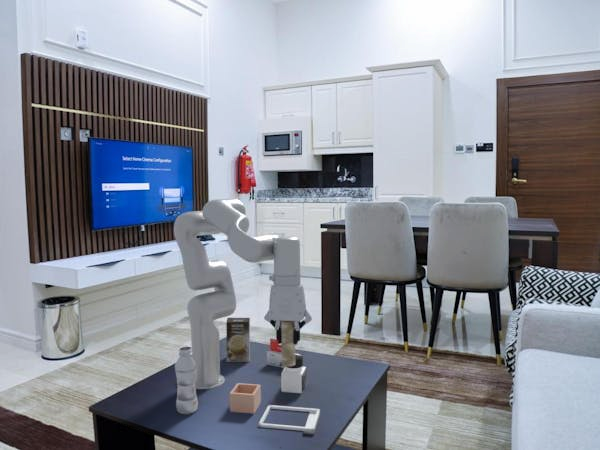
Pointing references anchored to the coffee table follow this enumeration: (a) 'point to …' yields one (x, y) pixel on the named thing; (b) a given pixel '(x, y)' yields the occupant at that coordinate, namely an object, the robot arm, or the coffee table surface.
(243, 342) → the coffee box
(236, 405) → the pen pot
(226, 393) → the coffee table surface
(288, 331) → the dowel
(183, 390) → the plastic bottle
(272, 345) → the ink cartridge box
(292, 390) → the medicine bottle
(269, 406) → the tray
